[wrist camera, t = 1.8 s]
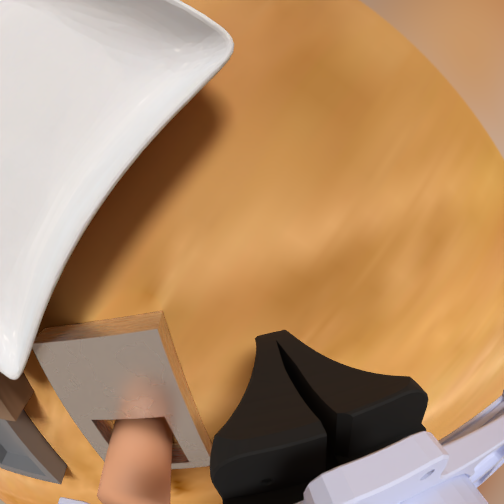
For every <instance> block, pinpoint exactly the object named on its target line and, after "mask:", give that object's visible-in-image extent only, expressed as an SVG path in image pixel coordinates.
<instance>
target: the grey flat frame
mask: <svg viewBox="0 0 504 504" xmlns="http://www.w3.org/2000/svg"><path fill="white" fill-rule="evenodd" d="M32 349H33V351H34V353H35V355H36V357H37V359H38V361H39V363H40V365H41V367H42V369H43V370H44V372H45V374H46V376H47V378H48V380H49V381H50V383H51V385H52V387H53V388H54V390H55V392H56V394H57V395H58V397H59V399H60V400H61V402H62V403H63V405H64V407H65V408H66V410H67V411H68V413H69V414H70V416H71V417H72V419H73V420H74V422H75V423H76V425H77V426H78V428H79V429H80V430H81V432H82V433H83V435H84V436H85V437H86V439H87V440H88V441H89V443H90V444H91V445H92V447H93V448H94V449H95V450H96V452H97V453H98V454H99V455H100V457H101V458H102V459H103V460H104V462H105V458H106V454H107V450H108V446H109V443H110V439H111V435H112V431H113V428H114V424H113V423H112V421H111V420H114V419H139V418H153V417H165V418H166V420H167V422H168V424H169V426H170V428H171V430H172V432H173V434H174V435H175V437H176V439H177V441H178V443H172V462H171V469H183V468H195V467H205V466H210V455H211V449H212V443H211V441H210V439H209V437H208V434H207V432H206V430H205V427H204V425H203V423H202V420H201V418H200V415H199V413H198V410H197V408H196V405H195V403H194V400H193V398H192V395H191V393H190V390H189V387H188V385H187V382H186V379H185V377H184V374H183V371H182V368H181V366H180V363H179V360H178V357H177V354H176V351H175V348H174V345H173V342H172V339H171V336H170V333H169V330H168V327H167V323H166V320H165V317H164V313H163V311H158V312H152V313H146V314H139V315H133V316H127V317H121V318H114V319H107V320H101V321H94V322H87V323H79V324H72V325H64V326H57V327H48V328H44V329H43V330H42V331H41V333H40V334H39V335H38V336H37V337H36V338H35V340H34V343H33V346H32Z"/></svg>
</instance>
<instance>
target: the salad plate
mask: <svg viewBox="0 0 504 504" xmlns="http://www.w3.org/2000/svg"><path fill="white" fill-rule="evenodd" d="M233 49H234V43H233V39H232V37H231V36H230V34H229V33H228V32H227V31H226V30H225V29H224V28H223V27H221V26H220V25H218V24H217V23H216V22H214V21H213V20H211V19H210V18H208V17H207V16H205V15H204V14H202V13H201V12H199V11H197V10H196V9H194V8H192V7H191V6H189V5H187V4H185V3H183V2H182V1H180V0H0V372H1V373H3V374H4V375H5V376H7V377H8V378H10V379H12V380H16V379H18V378H19V377H20V376H21V374H22V373H23V371H24V368H25V366H26V363H27V361H28V358H29V355H30V352H31V350H32V346H33V343H34V340H35V337H36V334H37V331H38V328H39V325H40V323H41V320H42V317H43V314H44V312H45V309H46V307H47V304H48V302H49V300H50V297H51V295H52V293H53V291H54V288H55V286H56V284H57V282H58V280H59V278H60V276H61V274H62V272H63V270H64V267H65V265H66V263H67V261H68V260H69V258H70V256H71V254H72V252H73V251H74V249H75V247H76V245H77V243H78V242H79V240H80V238H81V237H82V235H83V233H84V232H85V230H86V229H87V227H88V225H89V224H90V222H91V221H92V219H93V218H94V216H95V214H96V213H97V211H98V210H99V208H100V207H101V205H102V204H103V202H104V201H105V200H106V198H107V197H108V195H109V194H110V192H111V191H112V190H113V188H114V187H115V185H116V184H117V183H118V181H119V180H120V179H121V177H122V176H123V175H124V174H125V173H126V171H127V170H128V169H129V168H130V166H131V165H132V164H133V163H134V162H135V160H136V159H137V158H138V157H139V155H140V154H141V153H142V151H143V150H144V149H145V148H146V147H147V146H148V145H149V144H150V143H151V142H152V140H153V139H154V138H155V137H156V136H157V135H158V134H159V133H160V132H161V130H162V129H163V128H164V127H165V126H166V125H167V124H168V123H169V122H170V121H171V120H172V119H173V118H174V117H175V116H176V114H177V113H178V112H179V111H180V110H181V109H182V108H183V107H184V106H185V105H186V104H187V103H188V102H189V101H190V100H191V99H192V98H193V97H194V96H195V95H196V94H197V93H198V92H199V91H200V90H201V89H202V88H203V87H204V86H205V85H206V84H207V83H208V82H209V81H210V80H211V79H212V78H213V77H214V76H215V75H216V74H217V73H218V72H219V71H220V70H221V69H222V67H223V66H224V65H225V64H226V63H227V62H228V60H229V59H230V57H231V55H232V53H233Z"/></svg>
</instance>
